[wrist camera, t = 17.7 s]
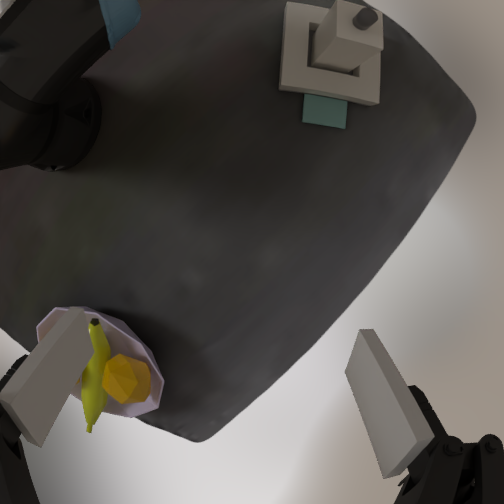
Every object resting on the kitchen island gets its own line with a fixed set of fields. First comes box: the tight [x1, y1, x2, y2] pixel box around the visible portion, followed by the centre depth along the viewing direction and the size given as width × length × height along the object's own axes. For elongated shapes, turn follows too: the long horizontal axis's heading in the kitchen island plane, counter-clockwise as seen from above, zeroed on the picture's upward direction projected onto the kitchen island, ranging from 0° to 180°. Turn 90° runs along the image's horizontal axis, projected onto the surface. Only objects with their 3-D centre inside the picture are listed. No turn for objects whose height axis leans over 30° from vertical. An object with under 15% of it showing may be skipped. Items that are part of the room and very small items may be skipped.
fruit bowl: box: [36, 306, 164, 433], centre depth 43 cm, size 28×27×11 cm
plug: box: [311, 0, 383, 74], centre depth 24 cm, size 5×5×14 cm
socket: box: [278, 2, 381, 129], centre depth 31 cm, size 17×13×4 cm
